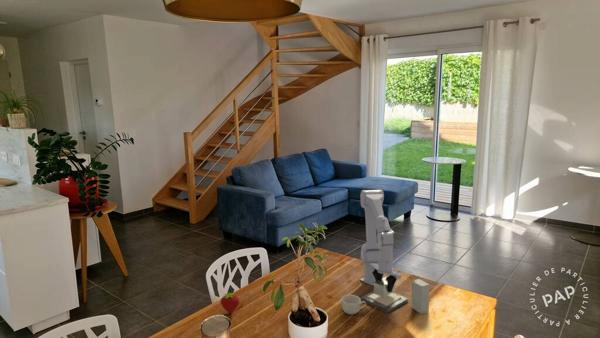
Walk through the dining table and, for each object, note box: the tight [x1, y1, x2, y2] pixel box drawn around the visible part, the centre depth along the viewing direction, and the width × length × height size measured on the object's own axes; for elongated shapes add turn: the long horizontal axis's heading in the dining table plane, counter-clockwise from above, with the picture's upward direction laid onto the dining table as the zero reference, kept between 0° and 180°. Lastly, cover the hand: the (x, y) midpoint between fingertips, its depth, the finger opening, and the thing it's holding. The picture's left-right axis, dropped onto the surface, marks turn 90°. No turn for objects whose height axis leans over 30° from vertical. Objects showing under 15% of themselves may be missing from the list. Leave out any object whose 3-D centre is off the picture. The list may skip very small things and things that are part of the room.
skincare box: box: [411, 278, 430, 315], centre depth 158 cm, size 6×4×12 cm
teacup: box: [341, 294, 367, 315], centre depth 158 cm, size 10×8×5 cm
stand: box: [360, 290, 409, 314], centre depth 166 cm, size 14×14×2 cm
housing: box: [373, 276, 396, 298], centre depth 165 cm, size 5×8×6 cm, turn 130°
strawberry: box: [220, 292, 240, 314], centre depth 157 cm, size 6×8×10 cm
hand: (384, 289), depth 166 cm, fingers closed on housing, 5 cm apart
